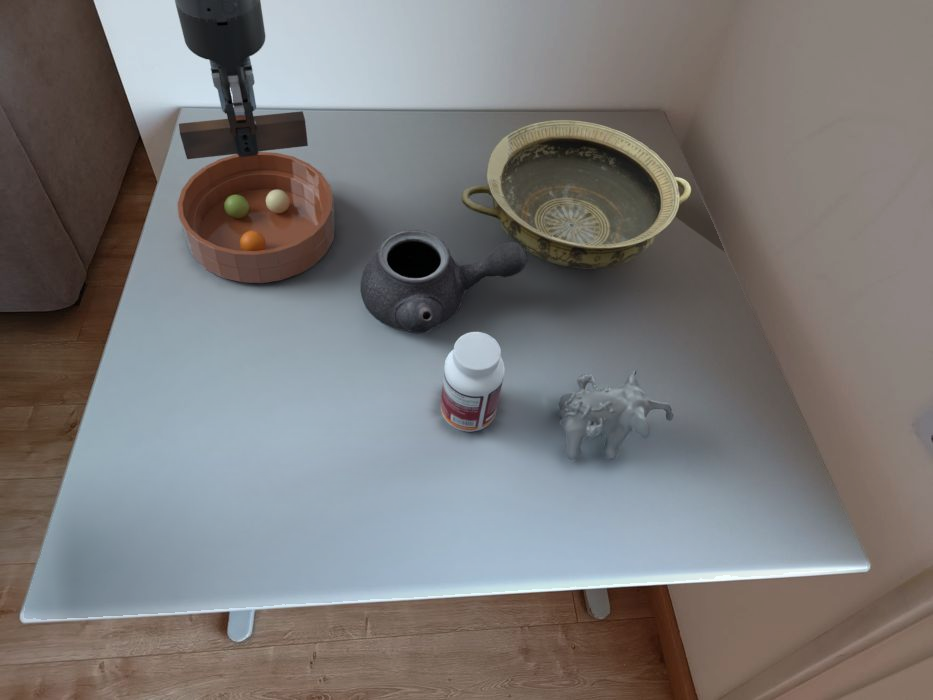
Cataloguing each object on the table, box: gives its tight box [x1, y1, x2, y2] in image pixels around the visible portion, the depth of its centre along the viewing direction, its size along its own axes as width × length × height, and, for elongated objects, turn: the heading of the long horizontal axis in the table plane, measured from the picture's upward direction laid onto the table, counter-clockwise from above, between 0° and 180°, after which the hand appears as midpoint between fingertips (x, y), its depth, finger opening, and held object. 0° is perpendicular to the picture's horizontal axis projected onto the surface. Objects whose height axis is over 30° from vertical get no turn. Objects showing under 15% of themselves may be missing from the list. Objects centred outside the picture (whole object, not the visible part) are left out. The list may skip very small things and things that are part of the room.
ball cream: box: [266, 190, 290, 213], centre depth 92 cm, size 3×3×3 cm
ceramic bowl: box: [461, 119, 692, 270], centre depth 92 cm, size 30×24×10 cm
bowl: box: [177, 151, 336, 284], centre depth 89 cm, size 18×18×6 cm
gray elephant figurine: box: [557, 369, 674, 461], centre depth 75 cm, size 9×12×8 cm
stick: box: [178, 110, 309, 160], centre depth 78 cm, size 13×2×4 cm, turn 107°
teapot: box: [360, 229, 528, 334], centre depth 83 cm, size 19×15×10 cm
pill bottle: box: [440, 331, 506, 433], centre depth 74 cm, size 6×6×11 cm
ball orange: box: [240, 231, 266, 251], centre depth 87 cm, size 3×3×3 cm
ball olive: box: [224, 195, 249, 219], centre depth 91 cm, size 3×3×3 cm
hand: (247, 147), depth 79 cm, fingers closed on stick, 1 cm apart
